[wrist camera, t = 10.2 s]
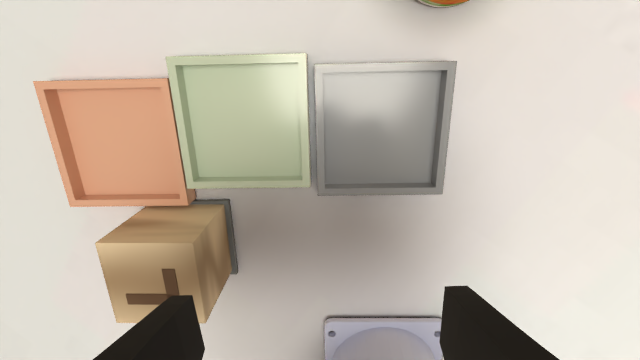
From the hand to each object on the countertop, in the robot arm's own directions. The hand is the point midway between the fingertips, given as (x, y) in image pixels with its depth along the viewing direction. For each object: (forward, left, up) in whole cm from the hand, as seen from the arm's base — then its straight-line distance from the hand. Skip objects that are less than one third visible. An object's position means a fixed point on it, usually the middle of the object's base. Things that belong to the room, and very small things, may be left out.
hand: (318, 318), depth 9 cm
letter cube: (-3, +8, -10) cm, 13 cm away
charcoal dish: (+4, -3, -10) cm, 11 cm away
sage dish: (+4, +4, -10) cm, 11 cm away
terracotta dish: (+3, +11, -10) cm, 15 cm away
